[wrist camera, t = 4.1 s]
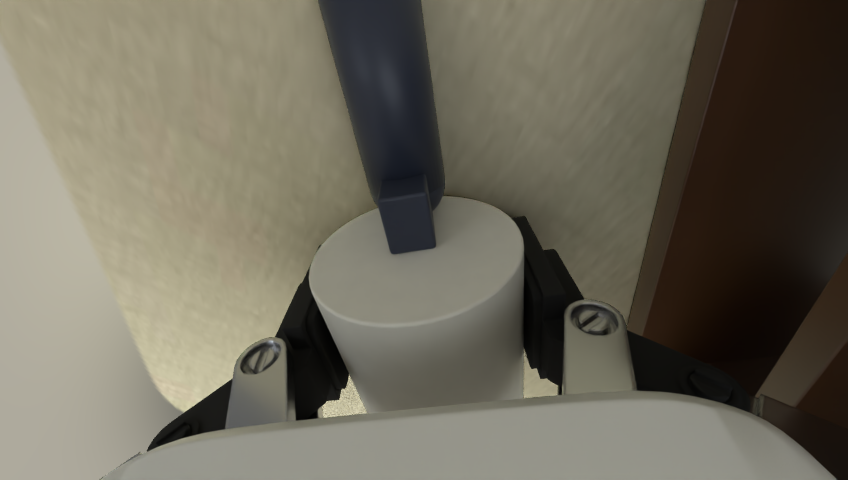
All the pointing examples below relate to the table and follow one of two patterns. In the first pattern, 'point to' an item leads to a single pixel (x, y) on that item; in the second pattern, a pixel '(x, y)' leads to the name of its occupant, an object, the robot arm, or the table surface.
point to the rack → (758, 206)
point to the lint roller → (414, 237)
